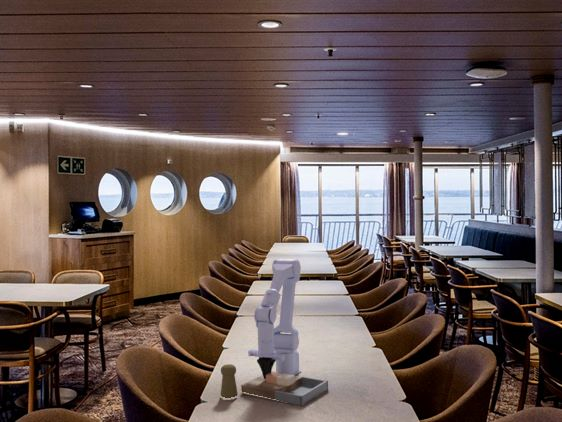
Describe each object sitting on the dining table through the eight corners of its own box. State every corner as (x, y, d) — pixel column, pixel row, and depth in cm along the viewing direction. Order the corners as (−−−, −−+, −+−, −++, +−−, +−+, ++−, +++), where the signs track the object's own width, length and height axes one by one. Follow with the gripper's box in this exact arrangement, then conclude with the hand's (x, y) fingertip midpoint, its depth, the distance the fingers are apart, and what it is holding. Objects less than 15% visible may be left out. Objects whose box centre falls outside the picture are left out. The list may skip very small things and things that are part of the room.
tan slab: (270, 379, 207) (270, 371, 207) (302, 385, 200) (302, 376, 200) (241, 393, 192) (241, 385, 192) (275, 400, 185) (274, 391, 185)
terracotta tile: (273, 378, 198) (273, 371, 198) (283, 380, 196) (283, 373, 196) (266, 382, 195) (265, 375, 195) (276, 384, 192) (276, 377, 192)
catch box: (302, 385, 200) (302, 376, 200) (328, 389, 194) (327, 380, 194) (275, 400, 185) (274, 391, 185) (301, 406, 179) (301, 396, 179)
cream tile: (283, 380, 196) (283, 373, 196) (294, 382, 194) (294, 375, 194) (276, 384, 192) (276, 376, 192) (287, 386, 190) (287, 378, 190)
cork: (238, 394, 192) (237, 362, 192) (237, 400, 186) (236, 367, 186) (220, 394, 192) (220, 362, 192) (219, 400, 186) (218, 368, 186)
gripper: (242, 340, 198) (243, 378, 198) (276, 345, 190) (277, 384, 190) (254, 336, 204) (255, 373, 204) (287, 340, 196) (288, 379, 196)
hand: (266, 378), depth 197 cm, fingers closed
